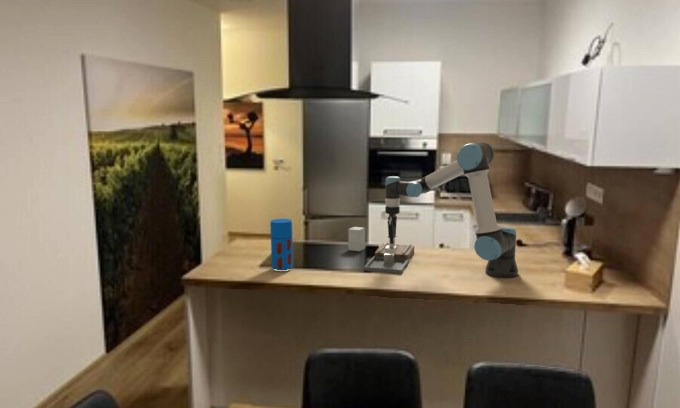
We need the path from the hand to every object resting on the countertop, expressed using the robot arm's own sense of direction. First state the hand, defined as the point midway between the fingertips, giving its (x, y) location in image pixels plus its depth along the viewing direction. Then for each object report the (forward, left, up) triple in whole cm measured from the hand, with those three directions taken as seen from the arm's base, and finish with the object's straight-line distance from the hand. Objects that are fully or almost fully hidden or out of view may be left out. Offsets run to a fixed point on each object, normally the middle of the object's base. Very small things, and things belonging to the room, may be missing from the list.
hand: (392, 249), depth 268 cm
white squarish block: (0, +3, -2) cm, 4 cm away
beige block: (0, +6, -2) cm, 6 cm away
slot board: (0, -8, -6) cm, 10 cm away
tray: (0, +13, -6) cm, 14 cm away
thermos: (+50, +31, -6) cm, 59 cm away
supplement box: (+24, -16, -6) cm, 29 cm away
